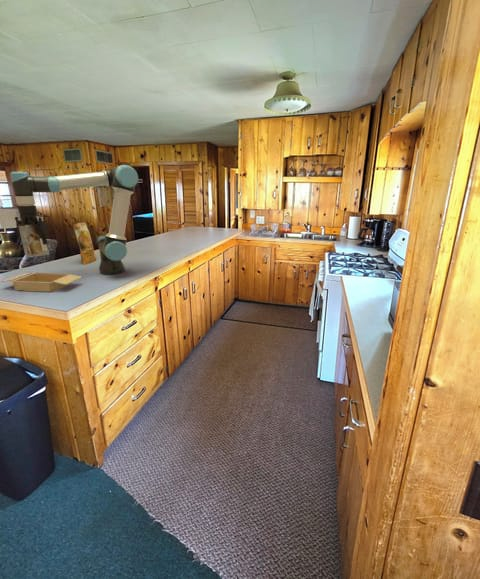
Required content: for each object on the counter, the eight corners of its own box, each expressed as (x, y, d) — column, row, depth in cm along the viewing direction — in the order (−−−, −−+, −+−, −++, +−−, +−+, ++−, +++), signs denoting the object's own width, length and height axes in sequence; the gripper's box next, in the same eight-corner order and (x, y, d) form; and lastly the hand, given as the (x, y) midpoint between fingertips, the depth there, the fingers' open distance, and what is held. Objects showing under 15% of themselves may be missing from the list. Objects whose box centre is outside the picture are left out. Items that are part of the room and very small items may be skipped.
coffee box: (43, 252, 159) (36, 222, 153) (50, 254, 156) (44, 223, 150) (24, 256, 151) (17, 224, 146) (31, 257, 148) (24, 225, 143)
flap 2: (52, 281, 151) (65, 284, 150) (69, 274, 163) (81, 276, 163) (52, 282, 151) (65, 284, 150) (69, 274, 163) (81, 277, 163)
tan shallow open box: (71, 282, 167) (70, 273, 165) (51, 292, 151) (49, 282, 149) (37, 281, 168) (35, 272, 167) (14, 290, 153) (11, 281, 151)
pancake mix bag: (75, 265, 204) (68, 224, 195) (90, 258, 222) (84, 221, 213) (85, 265, 204) (78, 224, 195) (99, 259, 222) (93, 221, 213)
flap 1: (32, 272, 165) (21, 274, 166) (12, 279, 152) (0, 281, 153) (32, 273, 165) (21, 275, 166) (12, 280, 153) (1, 282, 154)
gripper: (52, 205, 148) (60, 249, 155) (12, 204, 149) (23, 248, 157) (41, 205, 141) (51, 252, 148) (0, 205, 142) (11, 251, 150)
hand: (36, 250), depth 153 cm, fingers closed on coffee box, 8 cm apart
